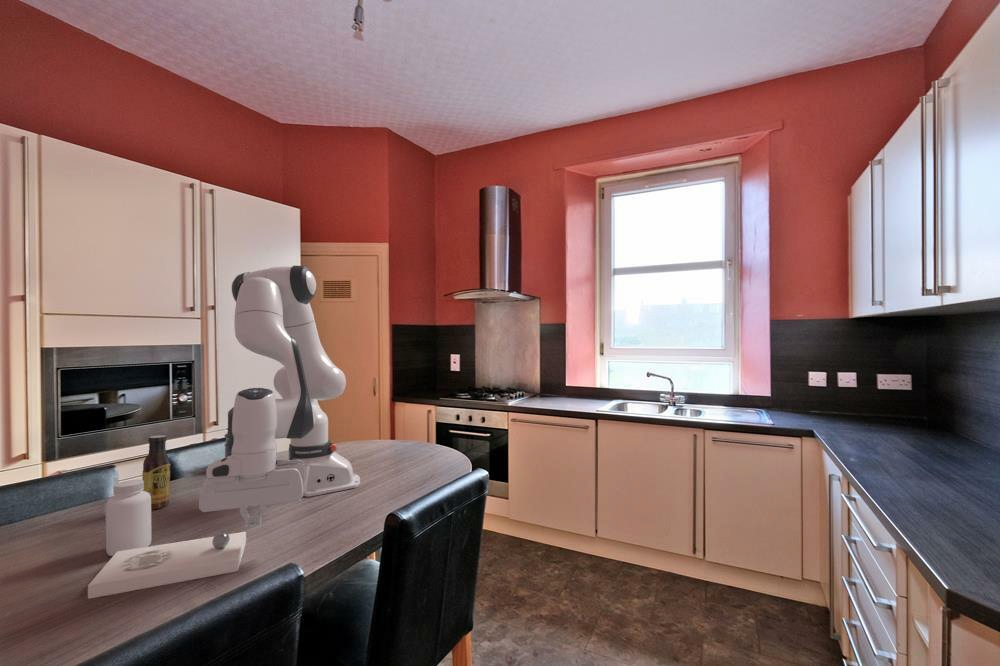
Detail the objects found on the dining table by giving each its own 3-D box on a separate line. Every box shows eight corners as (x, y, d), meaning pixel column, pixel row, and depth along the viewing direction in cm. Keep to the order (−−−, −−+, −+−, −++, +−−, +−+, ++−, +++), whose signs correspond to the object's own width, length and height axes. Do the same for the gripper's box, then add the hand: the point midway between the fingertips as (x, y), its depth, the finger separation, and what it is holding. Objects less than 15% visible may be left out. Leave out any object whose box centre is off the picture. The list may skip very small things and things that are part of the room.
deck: (246, 542, 105) (246, 531, 105) (237, 571, 92) (237, 559, 92) (117, 563, 95) (117, 551, 95) (87, 598, 82) (87, 585, 82)
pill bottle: (123, 541, 105) (123, 477, 105) (159, 540, 106) (159, 476, 106) (95, 558, 97) (96, 489, 97) (135, 556, 98) (135, 488, 98)
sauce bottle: (154, 512, 123) (154, 439, 123) (135, 510, 124) (135, 438, 124) (175, 503, 129) (175, 434, 129) (157, 501, 130) (158, 433, 130)
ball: (230, 543, 99) (230, 528, 99) (228, 549, 96) (228, 534, 96) (213, 546, 98) (213, 531, 98) (210, 552, 95) (210, 537, 95)
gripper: (305, 454, 106) (304, 513, 106) (204, 463, 98) (203, 526, 98) (305, 461, 100) (304, 523, 100) (197, 471, 93) (196, 538, 92)
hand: (253, 525), depth 99 cm, fingers closed
